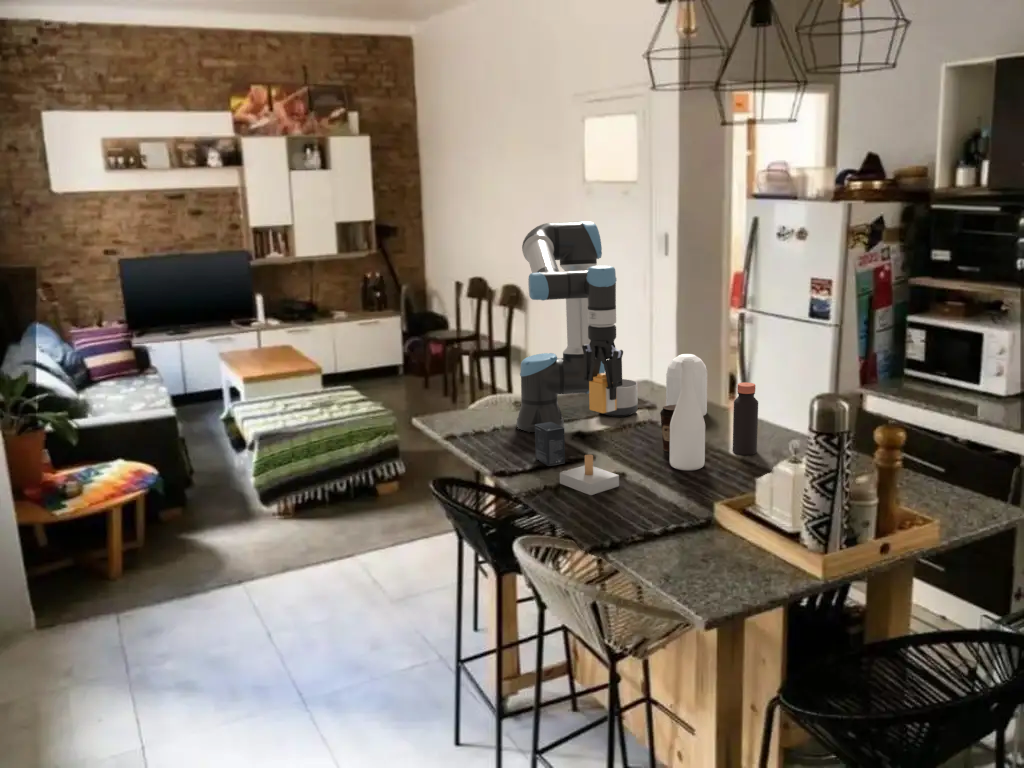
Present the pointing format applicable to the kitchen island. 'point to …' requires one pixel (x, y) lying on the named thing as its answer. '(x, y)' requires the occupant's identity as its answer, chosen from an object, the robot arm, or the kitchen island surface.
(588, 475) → the base with peg
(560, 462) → the box
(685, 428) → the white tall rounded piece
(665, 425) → the coffee cup
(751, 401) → the vinegar
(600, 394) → the orange stepped block
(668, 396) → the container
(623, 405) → the planter
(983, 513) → the kitchen island surface
